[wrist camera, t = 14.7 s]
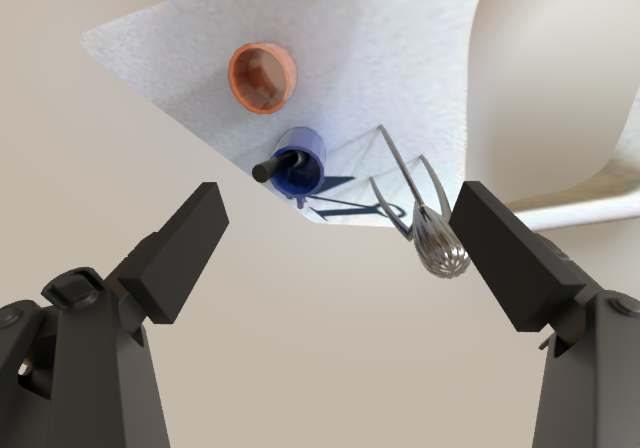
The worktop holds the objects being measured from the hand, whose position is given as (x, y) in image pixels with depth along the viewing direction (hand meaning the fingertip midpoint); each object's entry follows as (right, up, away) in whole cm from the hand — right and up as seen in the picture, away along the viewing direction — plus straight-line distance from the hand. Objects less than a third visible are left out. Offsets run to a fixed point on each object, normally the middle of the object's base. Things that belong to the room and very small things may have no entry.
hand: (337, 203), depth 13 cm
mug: (-4, +12, +35) cm, 37 cm away
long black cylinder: (-5, +13, +33) cm, 36 cm away
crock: (-9, +23, +26) cm, 36 cm away
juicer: (+14, +12, +34) cm, 39 cm away
